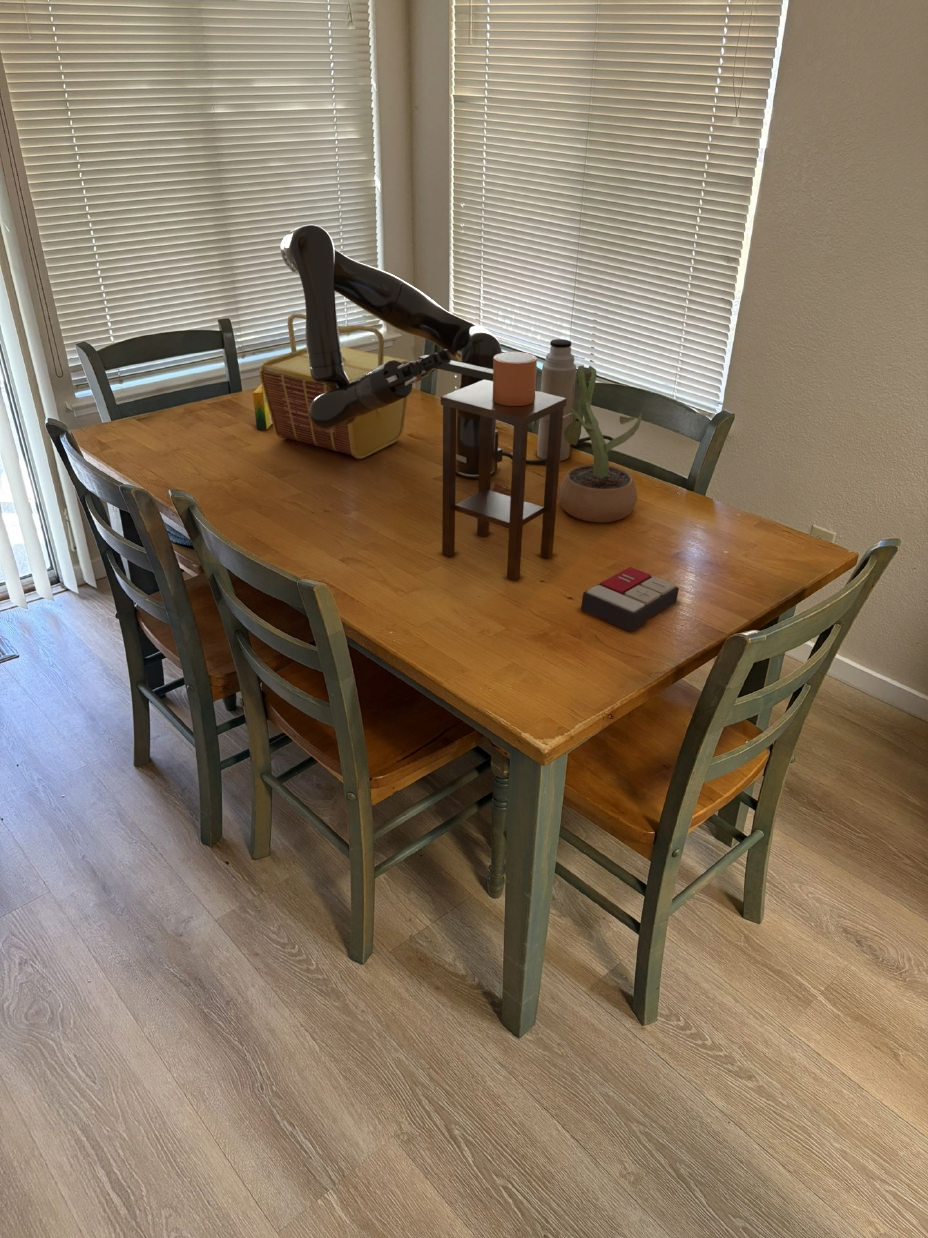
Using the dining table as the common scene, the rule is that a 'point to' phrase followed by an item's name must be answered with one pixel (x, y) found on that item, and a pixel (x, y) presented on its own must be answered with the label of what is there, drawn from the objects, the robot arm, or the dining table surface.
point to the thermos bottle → (557, 391)
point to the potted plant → (596, 467)
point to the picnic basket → (296, 390)
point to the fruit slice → (500, 489)
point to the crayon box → (261, 409)
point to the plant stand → (488, 502)
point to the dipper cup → (503, 376)
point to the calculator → (629, 598)
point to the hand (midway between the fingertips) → (443, 356)
